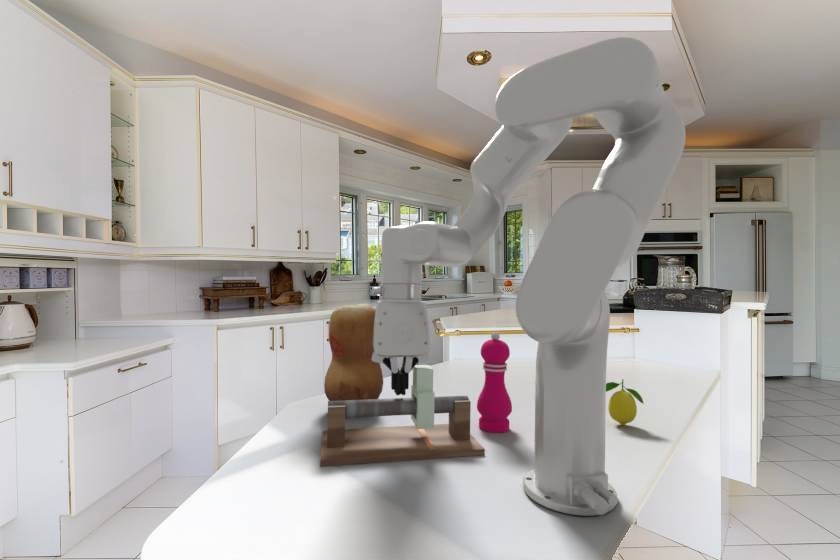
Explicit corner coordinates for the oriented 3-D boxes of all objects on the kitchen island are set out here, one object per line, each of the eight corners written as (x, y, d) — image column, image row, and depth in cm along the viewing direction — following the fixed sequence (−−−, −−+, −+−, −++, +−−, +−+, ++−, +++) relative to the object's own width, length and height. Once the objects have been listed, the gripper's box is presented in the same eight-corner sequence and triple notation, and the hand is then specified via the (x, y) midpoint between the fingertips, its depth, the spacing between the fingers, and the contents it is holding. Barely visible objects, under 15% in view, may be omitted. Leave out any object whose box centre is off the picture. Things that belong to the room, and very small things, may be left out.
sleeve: (433, 428, 75) (434, 370, 75) (417, 429, 75) (418, 370, 75) (426, 417, 81) (426, 363, 82) (410, 417, 81) (411, 364, 81)
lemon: (598, 422, 92) (599, 377, 92) (616, 419, 95) (617, 375, 95) (626, 432, 86) (626, 383, 86) (644, 428, 89) (645, 381, 89)
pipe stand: (484, 454, 73) (485, 405, 73) (320, 466, 67) (321, 412, 67) (460, 427, 87) (461, 386, 87) (322, 435, 81) (323, 390, 81)
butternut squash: (313, 409, 98) (316, 302, 98) (361, 399, 107) (363, 302, 107) (345, 424, 88) (347, 305, 88) (395, 412, 96) (397, 304, 97)
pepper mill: (511, 435, 83) (513, 334, 83) (475, 432, 84) (476, 333, 85) (511, 423, 90) (512, 330, 90) (477, 421, 92) (479, 329, 92)
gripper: (362, 293, 72) (360, 400, 72) (445, 294, 75) (444, 397, 75) (359, 293, 80) (357, 389, 79) (435, 293, 83) (433, 387, 82)
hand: (399, 393), depth 77 cm, fingers closed
